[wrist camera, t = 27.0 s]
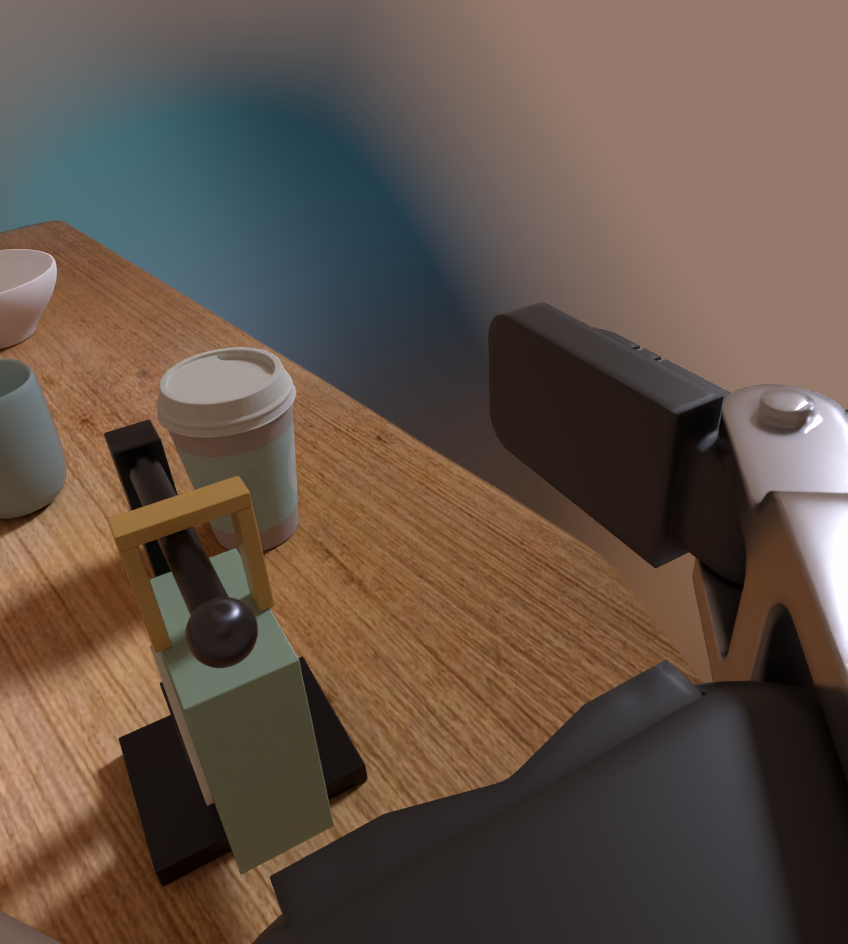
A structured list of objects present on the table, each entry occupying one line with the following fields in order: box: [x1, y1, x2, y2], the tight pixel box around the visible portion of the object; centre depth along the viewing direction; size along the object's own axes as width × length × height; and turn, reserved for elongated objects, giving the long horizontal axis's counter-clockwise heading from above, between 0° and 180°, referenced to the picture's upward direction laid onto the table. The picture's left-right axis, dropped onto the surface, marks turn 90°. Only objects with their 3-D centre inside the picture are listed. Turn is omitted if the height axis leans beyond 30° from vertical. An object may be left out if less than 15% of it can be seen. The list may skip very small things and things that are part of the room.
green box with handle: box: [107, 476, 333, 874], centre depth 30 cm, size 5×7×15 cm, turn 29°
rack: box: [104, 420, 367, 886], centre depth 31 cm, size 10×14×18 cm
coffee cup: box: [157, 347, 299, 552], centre depth 51 cm, size 9×8×12 cm
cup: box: [0, 359, 66, 519], centre depth 56 cm, size 8×8×10 cm
